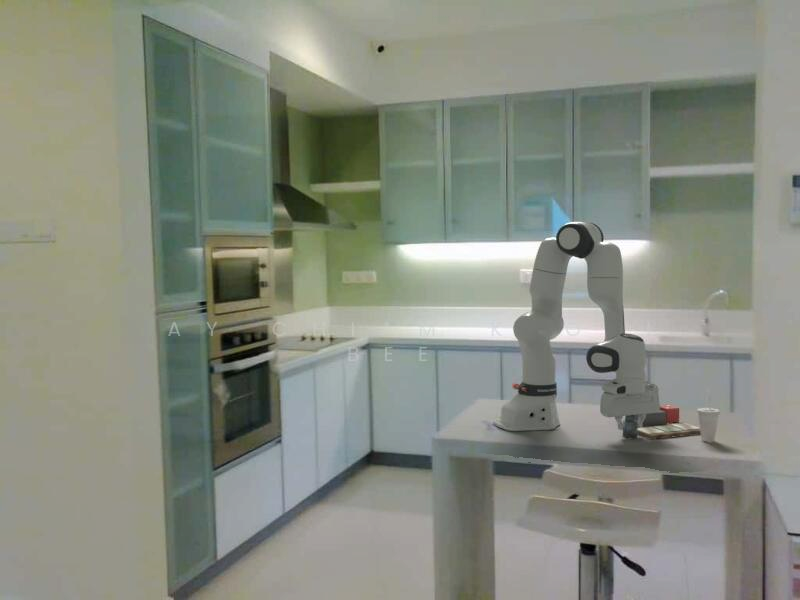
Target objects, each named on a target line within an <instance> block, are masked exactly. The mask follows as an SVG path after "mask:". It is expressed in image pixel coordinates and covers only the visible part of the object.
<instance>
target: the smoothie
mask: <svg viewBox="0 0 800 600" xmlns="http://www.w3.org/2000/svg"><path fill="white" fill-rule="evenodd" d="M708 398H709V399H708V407H698V408H697V414H698V421H699V428H700V432H701V434H700V438H701V441H702V440H703V441H702V442H704V441H707V442H706V443H714V442H715V440H716V433H717V426H718V421H719V415H720V413H721V412H720V411H721V410H719V409H718V408H713V407H712V395H709V397H708ZM708 441H709V442H708ZM713 441H714V442H713Z"/></svg>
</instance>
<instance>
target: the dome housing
mask: <svg viewBox="0 0 800 600" xmlns="http://www.w3.org/2000/svg"><path fill="white" fill-rule="evenodd" d="M634 416H635V418H636V420H635V421H638V418H639V416H638V415H634ZM665 424H667V423H666V412H665V411H662V410H659V411H658V413H649V414H646V418H645V419H644V421H643V423H642V427H645V426H655V425H665Z"/></svg>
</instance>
